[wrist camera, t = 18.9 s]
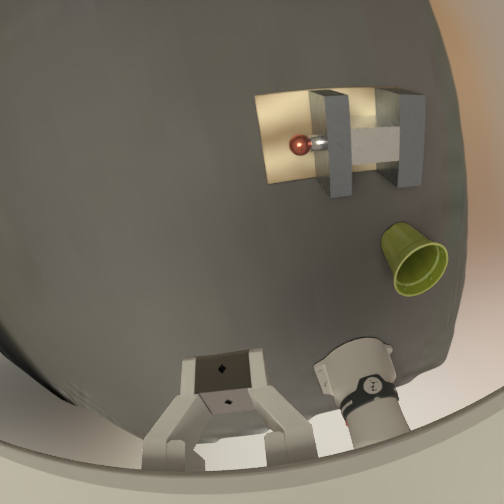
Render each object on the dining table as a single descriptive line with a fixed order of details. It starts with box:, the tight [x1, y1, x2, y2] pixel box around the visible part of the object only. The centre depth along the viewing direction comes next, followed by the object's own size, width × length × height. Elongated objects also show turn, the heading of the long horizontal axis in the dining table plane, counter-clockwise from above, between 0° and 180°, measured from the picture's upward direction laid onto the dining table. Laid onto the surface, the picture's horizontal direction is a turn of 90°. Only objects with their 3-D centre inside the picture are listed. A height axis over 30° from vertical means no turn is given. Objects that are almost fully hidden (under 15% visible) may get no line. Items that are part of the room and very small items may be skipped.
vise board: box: [254, 87, 402, 184], centre depth 34 cm, size 11×18×1 cm, turn 99°
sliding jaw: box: [289, 89, 352, 198], centre depth 31 cm, size 11×6×6 cm, turn 9°
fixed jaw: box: [374, 88, 425, 188], centre depth 31 cm, size 11×4×6 cm, turn 9°
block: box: [350, 115, 400, 165], centre depth 31 cm, size 4×6×6 cm, turn 99°
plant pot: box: [381, 222, 448, 296], centre depth 41 cm, size 9×9×9 cm
